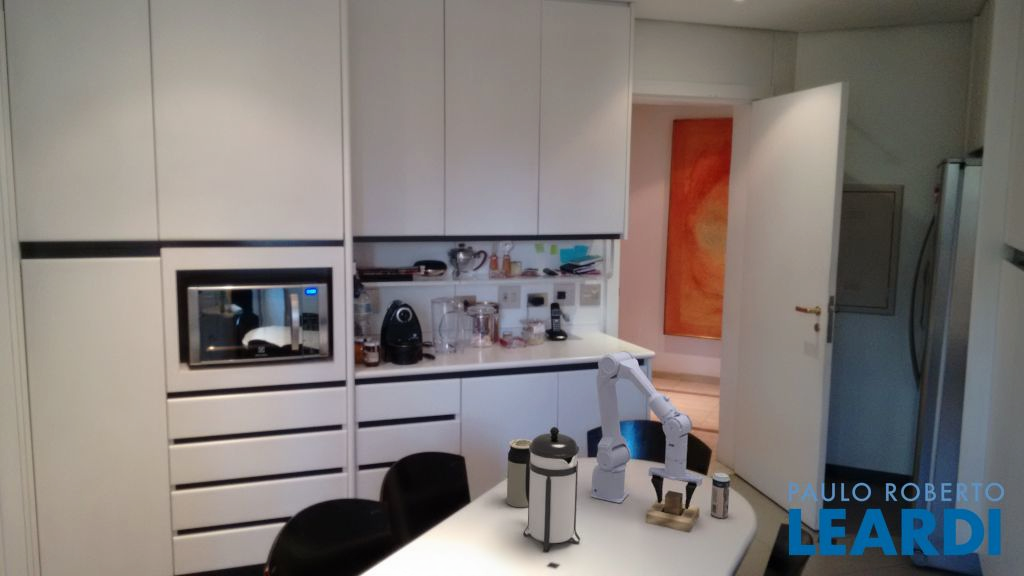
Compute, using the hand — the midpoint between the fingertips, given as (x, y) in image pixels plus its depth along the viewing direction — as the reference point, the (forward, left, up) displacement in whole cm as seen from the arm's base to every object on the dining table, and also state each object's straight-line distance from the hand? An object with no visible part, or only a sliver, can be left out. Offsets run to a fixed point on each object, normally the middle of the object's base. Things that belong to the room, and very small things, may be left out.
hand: (673, 504), depth 190 cm
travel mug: (-42, -12, -4) cm, 44 cm away
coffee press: (-26, -28, -4) cm, 38 cm away
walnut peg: (0, 0, -4) cm, 4 cm away
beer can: (+11, +9, -4) cm, 15 cm away
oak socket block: (0, 0, -4) cm, 4 cm away
